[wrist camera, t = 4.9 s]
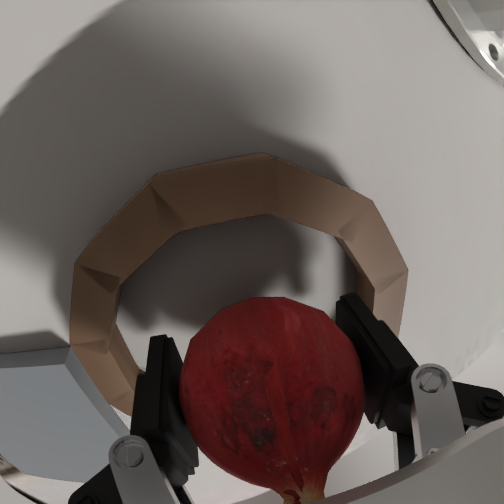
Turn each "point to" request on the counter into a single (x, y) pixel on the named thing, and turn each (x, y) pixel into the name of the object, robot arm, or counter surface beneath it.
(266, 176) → the ring holder
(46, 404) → the board
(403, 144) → the counter surface
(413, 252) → the counter surface
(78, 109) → the counter surface
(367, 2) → the counter surface
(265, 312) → the onion
